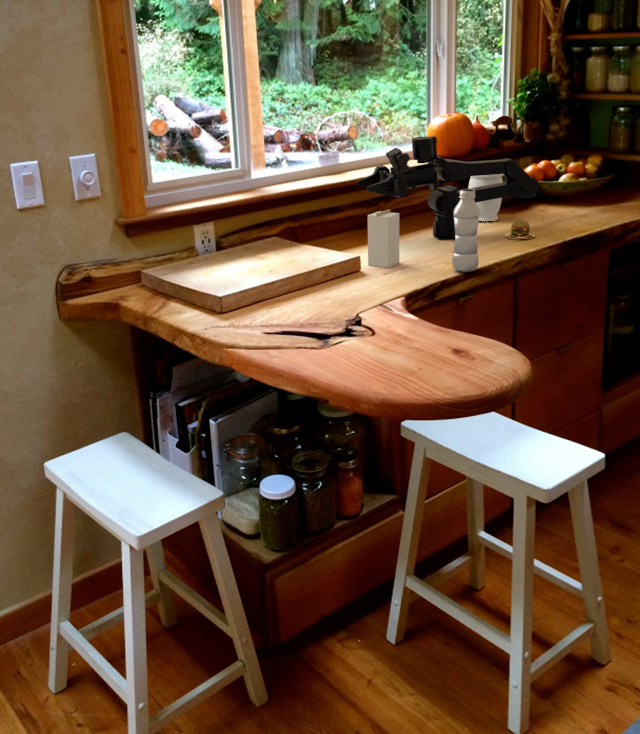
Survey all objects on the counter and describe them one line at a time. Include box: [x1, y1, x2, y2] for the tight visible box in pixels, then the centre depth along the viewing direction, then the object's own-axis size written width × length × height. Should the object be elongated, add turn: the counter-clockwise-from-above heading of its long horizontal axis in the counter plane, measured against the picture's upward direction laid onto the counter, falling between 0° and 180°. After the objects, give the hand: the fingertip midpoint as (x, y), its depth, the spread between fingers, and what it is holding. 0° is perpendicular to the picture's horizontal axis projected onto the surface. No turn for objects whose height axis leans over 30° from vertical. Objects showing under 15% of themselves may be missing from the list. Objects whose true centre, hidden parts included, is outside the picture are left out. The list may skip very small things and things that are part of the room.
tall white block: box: [367, 208, 400, 269], centre depth 210 cm, size 6×6×14 cm
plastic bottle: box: [451, 188, 480, 273], centre depth 200 cm, size 6×7×20 cm
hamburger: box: [509, 219, 531, 237], centre depth 234 cm, size 12×12×6 cm
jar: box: [467, 174, 504, 223], centre depth 255 cm, size 11×10×15 cm
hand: (362, 186), depth 226 cm, fingers open, 9 cm apart
